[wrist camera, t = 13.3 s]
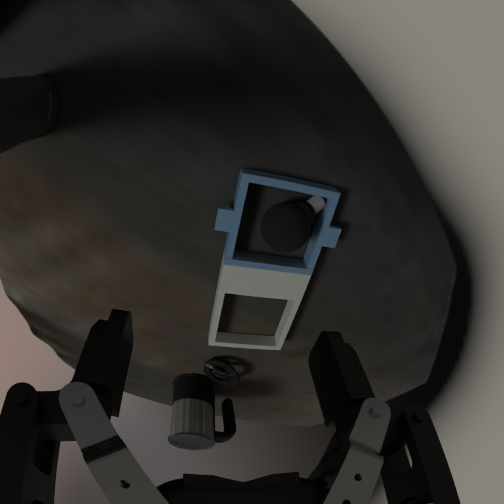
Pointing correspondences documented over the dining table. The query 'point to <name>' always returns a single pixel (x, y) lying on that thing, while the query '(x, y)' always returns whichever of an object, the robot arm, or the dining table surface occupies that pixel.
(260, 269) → the two-tone divided frame
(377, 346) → the dining table surface
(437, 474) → the robot arm
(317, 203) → the light bulb
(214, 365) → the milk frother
